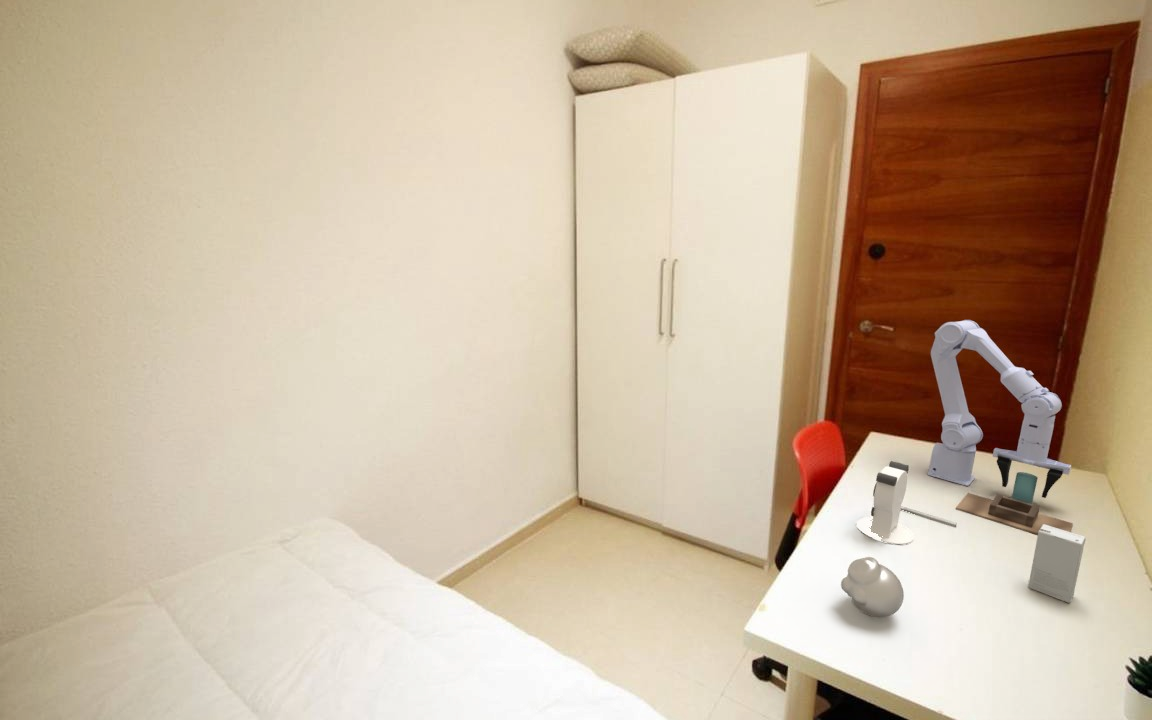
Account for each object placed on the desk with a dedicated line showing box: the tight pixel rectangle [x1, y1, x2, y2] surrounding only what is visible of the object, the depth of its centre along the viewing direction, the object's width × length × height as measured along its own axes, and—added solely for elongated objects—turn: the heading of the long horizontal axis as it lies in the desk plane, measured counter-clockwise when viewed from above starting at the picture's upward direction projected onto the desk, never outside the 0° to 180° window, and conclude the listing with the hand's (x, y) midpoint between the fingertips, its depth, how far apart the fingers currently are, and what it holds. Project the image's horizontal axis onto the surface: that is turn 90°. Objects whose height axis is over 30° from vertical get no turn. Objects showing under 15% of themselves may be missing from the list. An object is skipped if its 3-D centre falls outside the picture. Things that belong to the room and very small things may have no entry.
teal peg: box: [1011, 471, 1038, 504], centre depth 129 cm, size 4×4×7 cm
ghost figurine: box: [840, 556, 905, 618], centre depth 89 cm, size 9×10×10 cm
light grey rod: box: [900, 505, 958, 528], centre depth 122 cm, size 12×1×1 cm, turn 45°
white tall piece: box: [869, 460, 915, 545], centre depth 115 cm, size 12×11×15 cm
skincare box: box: [1027, 524, 1086, 604], centre depth 94 cm, size 6×4×12 cm
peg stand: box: [955, 492, 1073, 536], centre depth 122 cm, size 20×12×3 cm, turn 41°
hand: (1024, 491), depth 130 cm, fingers open, 7 cm apart
